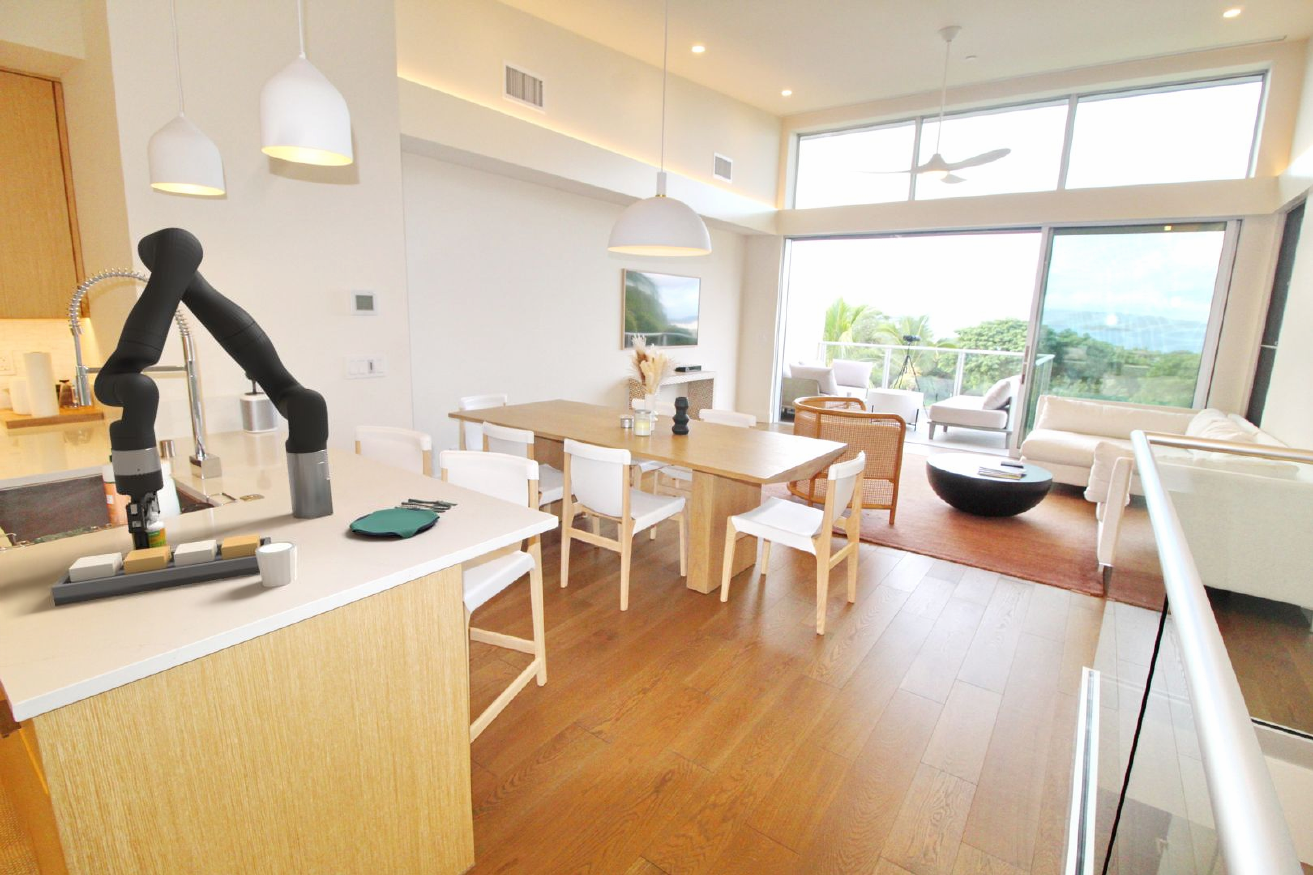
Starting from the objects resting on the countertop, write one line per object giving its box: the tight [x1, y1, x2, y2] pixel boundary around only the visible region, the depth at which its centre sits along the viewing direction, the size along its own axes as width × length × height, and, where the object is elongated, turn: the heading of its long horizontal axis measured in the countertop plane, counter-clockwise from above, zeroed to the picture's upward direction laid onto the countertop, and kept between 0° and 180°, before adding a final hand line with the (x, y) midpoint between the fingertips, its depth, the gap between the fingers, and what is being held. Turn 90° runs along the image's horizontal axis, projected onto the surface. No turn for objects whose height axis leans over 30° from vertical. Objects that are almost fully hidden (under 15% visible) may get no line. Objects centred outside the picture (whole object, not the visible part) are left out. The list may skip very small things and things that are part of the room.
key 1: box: [221, 533, 261, 559], centre depth 123 cm, size 6×6×2 cm
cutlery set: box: [348, 498, 458, 539], centre depth 154 cm, size 20×30×2 cm, turn 171°
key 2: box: [174, 539, 217, 567], centre depth 120 cm, size 6×6×2 cm
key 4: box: [68, 551, 123, 582], centre depth 112 cm, size 6×6×2 cm
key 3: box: [123, 545, 172, 574], centre depth 116 cm, size 6×6×2 cm
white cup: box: [255, 541, 298, 588], centre depth 116 cm, size 7×7×7 cm
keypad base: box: [51, 536, 272, 607], centre depth 118 cm, size 32×12×4 cm, turn 120°
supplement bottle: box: [131, 512, 168, 551], centre depth 127 cm, size 5×5×10 cm
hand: (148, 543), depth 127 cm, fingers open, 8 cm apart
